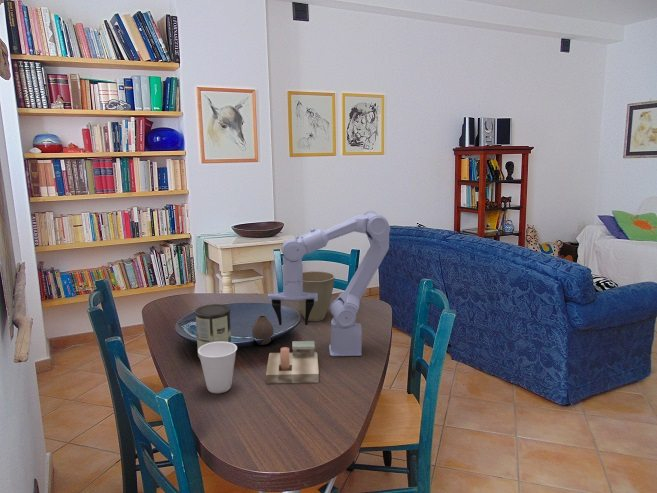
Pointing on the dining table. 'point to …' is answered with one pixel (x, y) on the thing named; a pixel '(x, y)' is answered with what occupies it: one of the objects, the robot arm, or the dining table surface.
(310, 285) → the plant pot
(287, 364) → the peg
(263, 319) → the vase
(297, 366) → the socket board
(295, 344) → the pale green box
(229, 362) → the cup
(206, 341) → the coffee can
